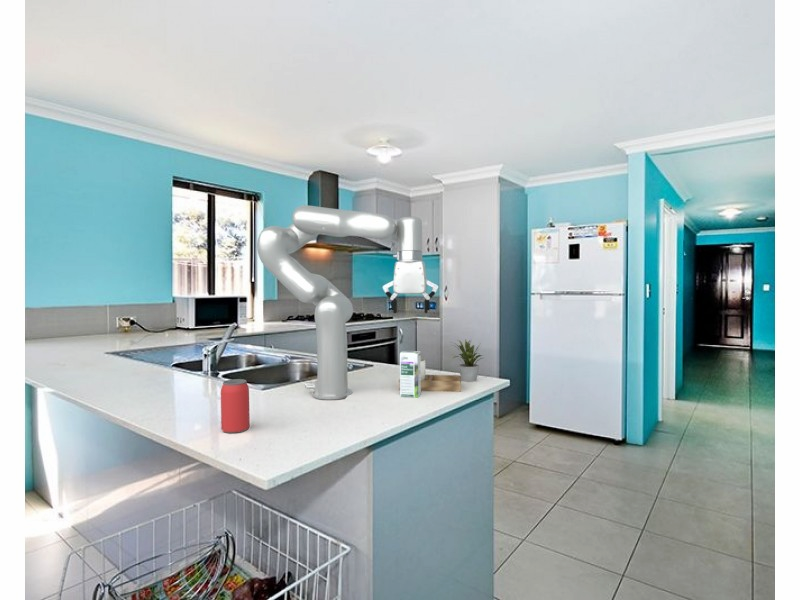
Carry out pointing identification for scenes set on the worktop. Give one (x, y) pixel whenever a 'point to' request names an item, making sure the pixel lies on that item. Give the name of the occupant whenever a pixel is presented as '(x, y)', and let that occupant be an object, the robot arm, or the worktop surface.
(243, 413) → the beer can
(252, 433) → the worktop surface
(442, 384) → the wooden tray
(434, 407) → the worktop surface
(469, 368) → the house plant
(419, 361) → the syrup box
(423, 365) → the ceramic jar
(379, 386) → the worktop surface
